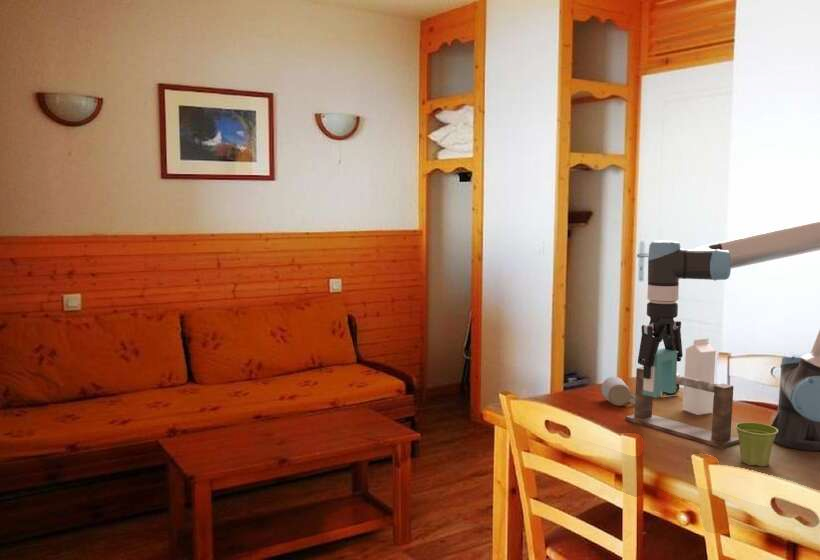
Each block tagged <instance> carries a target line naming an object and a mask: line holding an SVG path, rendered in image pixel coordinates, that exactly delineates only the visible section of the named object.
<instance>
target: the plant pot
mask: <svg viewBox="0 0 820 560" xmlns="http://www.w3.org/2000/svg"><path fill="white" fill-rule="evenodd" d="M735 429H736V431H737V435H738V439H739V443H738V444H739V452H740V453H739V454H740V460H741V462H742V463H743V462H744V463H743V464H745V463H746V465H749V466H757V467H765V466H768V465H769V463H770V459H771V453H772V449H773V446H774V445H773V444H774V442H773V441H774V439H775V436H776V434H777V433H778V429H777V428H775V427H773V426H771V425H769V424H765V423H760V422H754V421H751V422H749V421H745V422H744V421H743V422H739V423H738V422H737V423H735Z"/></svg>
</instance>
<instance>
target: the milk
mask: <svg viewBox="0 0 820 560" xmlns="http://www.w3.org/2000/svg"><path fill="white" fill-rule="evenodd" d="M709 340H710V339H709V338H701V339H700V338H699V339H694V340H693V344H692V345H690V346H689V347H687V348H685V357H684V374H683V375H684V376H683V377H688V378H692V379H697V380H701V381H705V382H710V383H714V384H715V369H716V355H717V354H716V350H715V348H713V347H712V346H711V344H709ZM682 393H683V395H682V396H683V398H682V411H684V412H688V413H690V414H693V415H696V416H700V415H701V416H702V415H706V414H707V415H708V414H713V400H714V393H713V392H708V391H704V390H700V389H696V388H691V387H687V386H683V392H682Z"/></svg>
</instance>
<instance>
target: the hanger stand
mask: <svg viewBox="0 0 820 560" xmlns="http://www.w3.org/2000/svg"><path fill="white" fill-rule="evenodd" d="M643 369H644V367H643V366H641V367H637V368H636V374H635V395H634V397H635V404H634V413H633V414H631V415H627V416H625V421H628V422H632V423H635V424H638V425H641V426H646V427H649V428H652V429H655V430H659V431H662V432H665V433H669V434H671V435H674V436H675V435H676V436H679V437H682V438H686V439H689V440H693V441H695V442H700V443H702V444H707V445H709V446H711V447H712V446H713V447H716V448H719V449H722V448H723V449H726V448H729V447H731V445H732V446H734V444H735V445H738V444H739V437H738V438H737V437H734V436H731V435H732V434H731V433H732V431H731V430H732V417H733V404H734V403H733V401H734V385H731V384H727V383H720V384H719V383H715V382H714V383H710V382H705V381H701V380H697V379H692V378H688V377H684V376H682V375H680V376H679V375H676V384H679V386H683V387H684V386H687V387H691V388H696V389H700V390H704V391H708V392H713V407H712V419H711V420H712V422H711V424H712V425H711V430H709V429H705V428H702V427H698V426H694V425H691V424H688V423H684V422H679V421H677V420H674V419H673V420H672V419H669V418H665V417H663V416H659V415H655V414H653V402H654V401H653V399H654V397H652V396H648V395H644V394H643ZM728 446H729V447H728Z"/></svg>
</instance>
